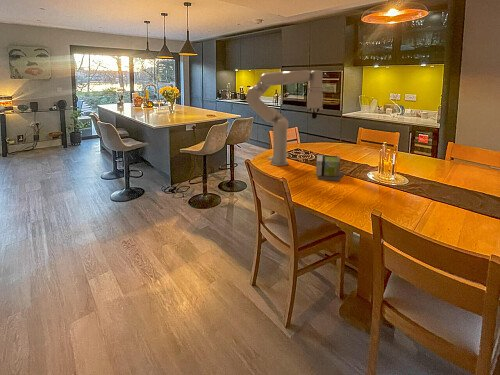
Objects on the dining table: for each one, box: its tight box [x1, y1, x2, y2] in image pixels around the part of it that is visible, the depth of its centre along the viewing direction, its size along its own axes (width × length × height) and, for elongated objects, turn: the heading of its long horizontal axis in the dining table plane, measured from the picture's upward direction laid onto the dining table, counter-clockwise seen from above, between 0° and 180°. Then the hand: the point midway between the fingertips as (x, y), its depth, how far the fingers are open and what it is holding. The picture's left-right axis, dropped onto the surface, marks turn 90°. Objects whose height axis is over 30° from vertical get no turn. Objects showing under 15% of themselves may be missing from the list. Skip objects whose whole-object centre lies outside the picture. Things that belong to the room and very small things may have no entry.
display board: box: [316, 171, 346, 183], centre depth 218 cm, size 13×18×1 cm
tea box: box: [315, 154, 341, 177], centre depth 220 cm, size 15×10×15 cm
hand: (314, 118), depth 232 cm, fingers closed
